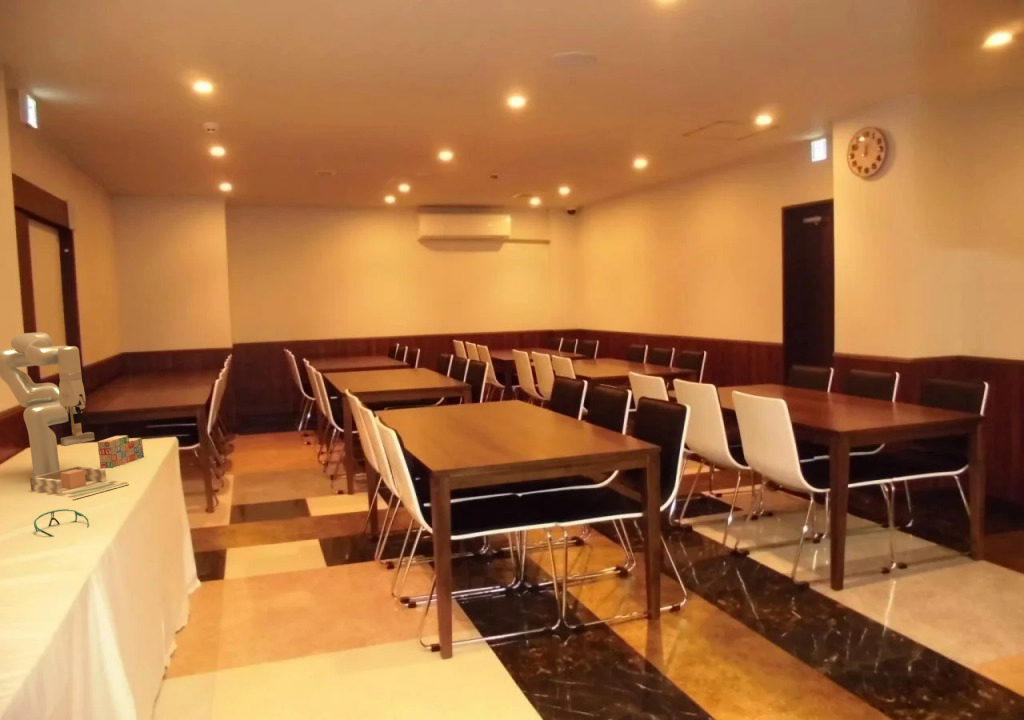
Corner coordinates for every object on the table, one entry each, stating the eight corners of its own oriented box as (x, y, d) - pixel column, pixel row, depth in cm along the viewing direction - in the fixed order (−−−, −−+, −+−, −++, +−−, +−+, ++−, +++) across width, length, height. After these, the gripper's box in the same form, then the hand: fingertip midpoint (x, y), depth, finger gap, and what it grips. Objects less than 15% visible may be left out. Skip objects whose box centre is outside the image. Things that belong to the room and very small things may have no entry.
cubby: (27, 494, 291) (25, 478, 291) (83, 479, 310) (81, 465, 310) (74, 500, 277) (72, 484, 276) (129, 485, 296) (127, 470, 295)
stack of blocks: (132, 457, 352) (129, 431, 351) (144, 457, 351) (141, 431, 350) (100, 468, 331) (97, 441, 330) (113, 468, 330) (110, 440, 329)
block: (61, 487, 294) (60, 472, 293) (76, 484, 299) (75, 469, 298) (70, 489, 291) (69, 473, 290) (86, 485, 296) (84, 470, 295)
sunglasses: (76, 519, 252) (74, 505, 251) (95, 531, 242) (94, 516, 242) (28, 531, 241) (27, 516, 240) (46, 544, 232) (45, 528, 231)
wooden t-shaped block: (61, 445, 298) (56, 405, 296) (89, 439, 308) (85, 400, 307) (66, 446, 296) (61, 406, 295) (94, 439, 307) (90, 400, 305)
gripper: (48, 378, 300) (53, 424, 301) (74, 379, 293) (79, 425, 294) (66, 376, 306) (71, 420, 308) (92, 376, 299) (97, 422, 301)
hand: (75, 422), depth 301 cm, fingers closed on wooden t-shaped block, 2 cm apart
